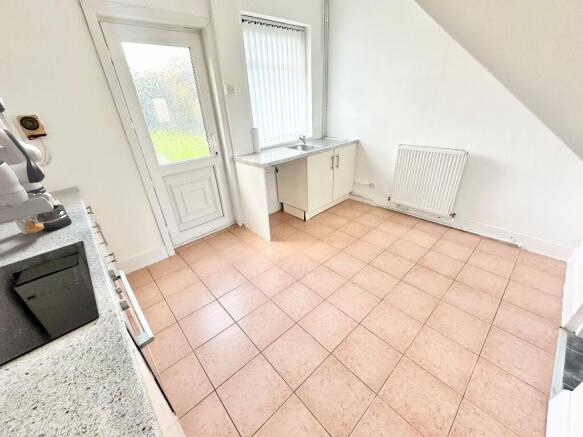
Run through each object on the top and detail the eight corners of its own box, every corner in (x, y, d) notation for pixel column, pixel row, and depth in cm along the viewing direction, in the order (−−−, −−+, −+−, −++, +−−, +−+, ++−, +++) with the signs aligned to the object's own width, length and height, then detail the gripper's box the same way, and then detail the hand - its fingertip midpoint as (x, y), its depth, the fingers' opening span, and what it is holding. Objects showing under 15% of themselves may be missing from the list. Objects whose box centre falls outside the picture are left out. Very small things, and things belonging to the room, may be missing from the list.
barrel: (44, 225, 129) (34, 209, 125) (72, 218, 136) (63, 202, 131) (40, 234, 121) (29, 216, 116) (71, 226, 127) (61, 209, 122)
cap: (27, 229, 116) (21, 220, 113) (45, 225, 119) (40, 216, 117) (24, 235, 111) (18, 225, 108) (43, 230, 114) (37, 221, 112)
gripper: (46, 189, 115) (60, 215, 121) (-16, 202, 104) (3, 229, 110) (44, 193, 110) (59, 219, 117) (-21, 206, 99) (0, 234, 106)
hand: (32, 224), depth 113 cm, fingers closed on cap
